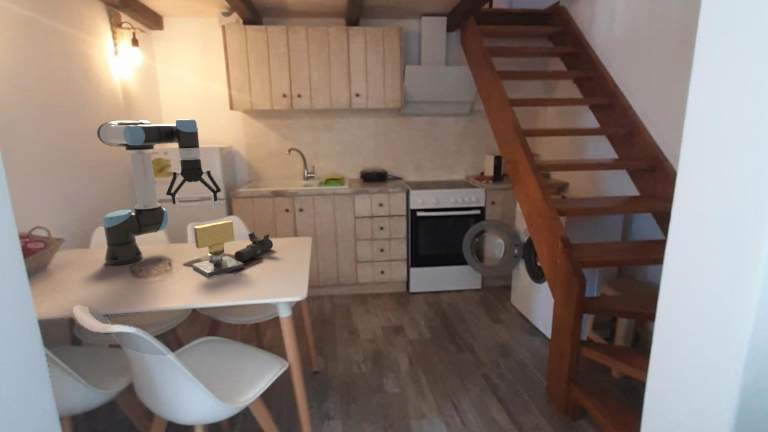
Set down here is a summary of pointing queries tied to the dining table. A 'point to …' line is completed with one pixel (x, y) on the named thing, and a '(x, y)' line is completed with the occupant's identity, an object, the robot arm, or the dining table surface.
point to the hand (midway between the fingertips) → (196, 210)
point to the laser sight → (254, 248)
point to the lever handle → (214, 236)
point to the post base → (217, 265)
